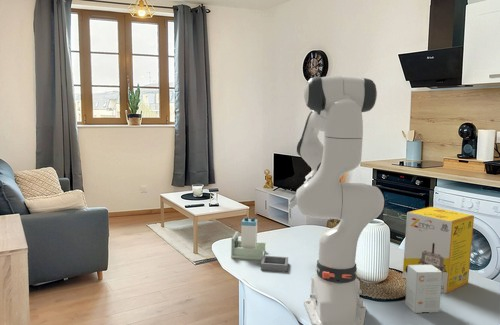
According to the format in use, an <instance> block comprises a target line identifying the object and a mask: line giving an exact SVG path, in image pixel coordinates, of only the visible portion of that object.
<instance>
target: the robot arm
mask: <svg viewBox="0 0 500 325" xmlns="http://www.w3.org/2000/svg"><path fill="white" fill-rule="evenodd" d="M377 96H378V91H377V85H376V83H375V82H374V81H373V80H372V79H370V78H366V77H361V78H359V77H351V76H342V75H332V76H331V75H330V76H322V77H321V76H320V75H319V76H314V77H311V78H309V79H308V80H307V82H306V84H305V88H304V91H303V98H304V102H305V104H306V107H308V109H309V110H311V111H310V112H309V114H308V115H307V118H306V121H305V123H304V124H305V125H304V128H303V131H302V134H301V137H300V139H299V141H298V143H297V145H296V154H297V155H298V156H300V158H301V159H302V160H304V162H305V163H306V164H307V166H308V167H310V168H311V171H310V172H308V174H307V175H305V177H304V178H305V181H303V184H301V186H299V187H298V188H297V189H296V192H295V194H294V195H293V197H292V198H291V199H290V200H289V204H288V207H289V208H290V209H293V208H294V207H295V206H297V207H298V210H299V211H300V213H301V214H302V215H304V216H308V217H311V218H315V219H316V218H317V219H332V220H333V219H334V220H340V221H339V223H338V224H337V225H336V226H334V227H332V228H330V229H328V230H326V231H324V232H323V233H322V234H321V236H320V238H319V244H318V246H319V247H318V260H316V274H315V275H313V277H311V283H310V295H309V297H310V298H306V299H304V301H303V305H304V307H305V310H306V313H307V315H308V317H309V320H310V322H311V325H365V321H366V320H365V319H366V312H367V311H366V310H367V308H366V307H367V306H366V305H365V304H364V299H363V298H361V297H360V295H362V294H363V290H362V289H361V287H360V286H361V284H360V283H361V282H360V280H359V279H358V278H357V272H358V271H357V270H358V268H357V263H356V258H357V250H358V248H357V247H358V241H359V238H360V236H361V234H362V232H363V230H364V229H365V228H366V227H367V226H368V225H369V223H371V222H373V221H374V220H375V219H377V218H378V217H379V216H380V215H381V214H382V212H383V211H384V207H385V198H384V194H383V193H382V191H381V189H380V188H379V187H378V186H375V185H371V184H366V183H359V182H340V179H341V177H342V176H343V175H345V174H347V173H350V172H352V171H353V170H355V169H356V168H358V167H359V165H360V164H361V162H362V155H363V154H362V152H363V136H364V125H363V124H364V123H363V122H364V120H363V113H365V112H370V111H372V109H373V108H374V107H375V105H376V102H377V98H378V97H377ZM320 131H321V132H324V134H323V135H324V136H323V143H322V142H321V140H320V139H319V137H318V135H319V132H320Z"/></svg>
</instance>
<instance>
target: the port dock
mask: <svg viewBox="0 0 500 325" xmlns="http://www.w3.org/2000/svg"><path fill="white" fill-rule="evenodd" d="M230 245H231V250H230V252H231V253H230V258H232V259H241V260H242V259H243V260H253V261H254V260H257V261H262V258H263V256H265V253H266V242H265V241H257V249H255V248H241V240H239V231H238V230H237V231H235V232H234V234H233V236H232V238H231V244H230Z"/></svg>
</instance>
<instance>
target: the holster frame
mask: <svg viewBox="0 0 500 325" xmlns="http://www.w3.org/2000/svg"><path fill="white" fill-rule="evenodd" d="M288 265H289V257H288V256H275V255H264V256H263V258H262V260H261V262H260V271H271V272H272V271H273V272H285V273H286V272H288V267H289V266H288Z"/></svg>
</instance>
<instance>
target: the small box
mask: <svg viewBox="0 0 500 325" xmlns="http://www.w3.org/2000/svg"><path fill="white" fill-rule="evenodd" d="M441 281H442V271H440V270H439V269H437V268H436V267H434V266H433V265H408V269H407V279H406V286H405V287H406V288H405V300H404V301H405V303H404V304H405V306H406V307H408V308H409V309H410V310H411V311H412V312H413V313H414V314H420V313H422V312H429V313H440V304H441V296H442V295H441V294H442V292H441Z"/></svg>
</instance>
